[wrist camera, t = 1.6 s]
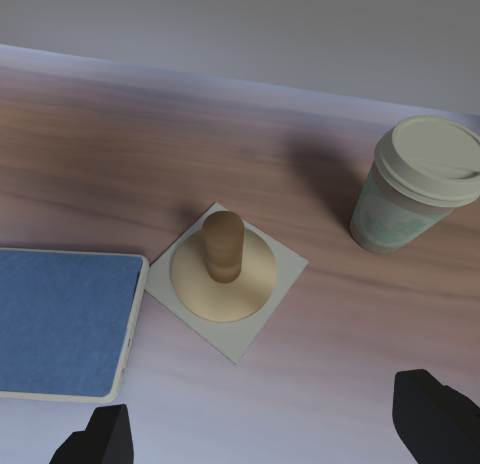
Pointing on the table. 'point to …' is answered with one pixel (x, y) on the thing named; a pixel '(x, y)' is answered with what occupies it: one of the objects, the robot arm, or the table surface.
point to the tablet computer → (67, 322)
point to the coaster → (233, 333)
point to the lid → (224, 270)
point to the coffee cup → (415, 181)
